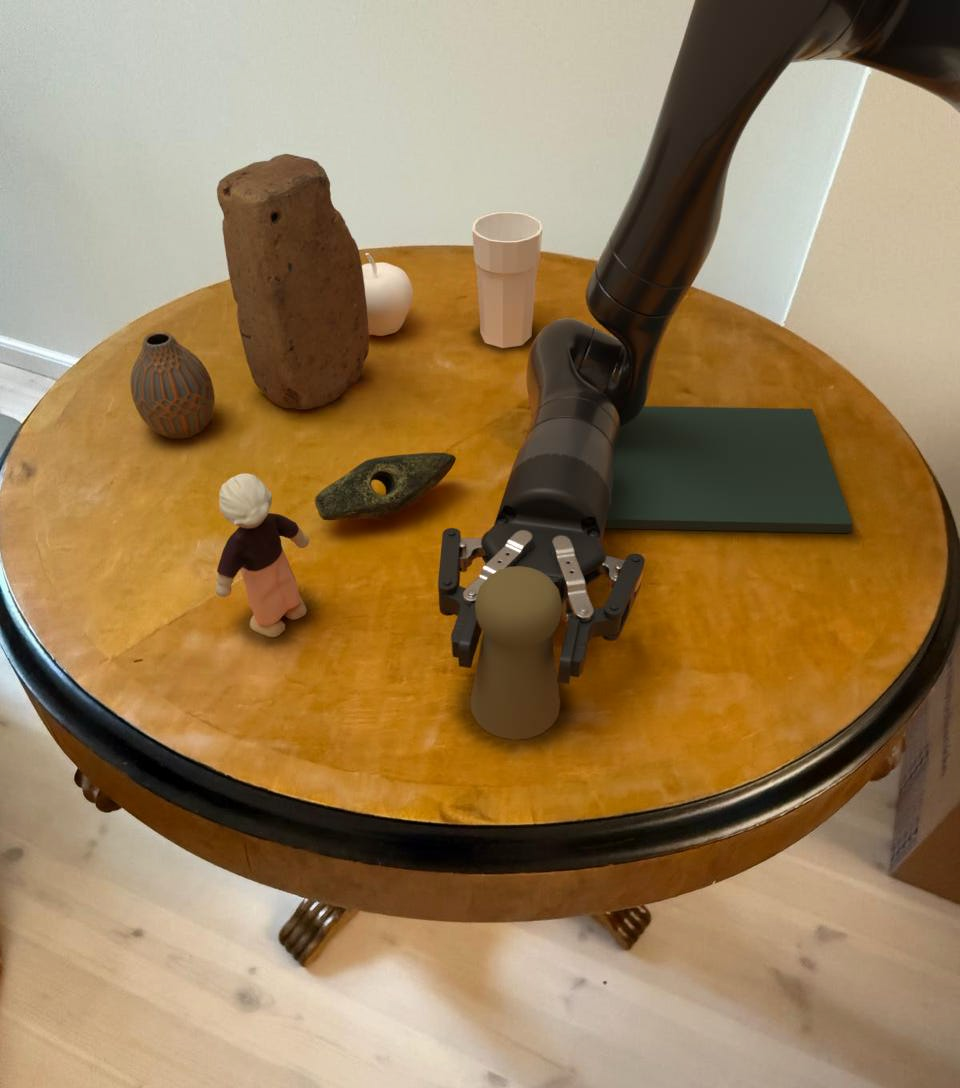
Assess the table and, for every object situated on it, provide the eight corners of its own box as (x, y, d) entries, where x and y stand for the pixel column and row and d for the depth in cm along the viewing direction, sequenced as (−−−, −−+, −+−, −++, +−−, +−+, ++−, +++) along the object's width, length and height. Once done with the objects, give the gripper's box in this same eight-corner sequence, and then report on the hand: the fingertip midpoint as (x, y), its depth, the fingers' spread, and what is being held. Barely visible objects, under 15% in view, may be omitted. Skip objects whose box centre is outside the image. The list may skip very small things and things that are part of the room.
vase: (210, 397, 88) (187, 310, 81) (230, 436, 83) (209, 347, 77) (136, 416, 85) (107, 329, 79) (154, 457, 81) (124, 368, 75)
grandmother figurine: (285, 579, 71) (254, 440, 61) (326, 596, 69) (301, 457, 60) (219, 644, 66) (174, 505, 57) (261, 664, 65) (222, 525, 55)
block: (290, 425, 84) (249, 199, 70) (245, 391, 88) (197, 171, 73) (384, 380, 89) (363, 161, 75) (337, 350, 93) (309, 136, 78)
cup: (460, 331, 95) (457, 224, 87) (511, 312, 98) (513, 206, 90) (499, 358, 92) (500, 249, 84) (551, 337, 94) (557, 229, 86)
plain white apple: (335, 321, 97) (325, 245, 91) (397, 305, 99) (391, 230, 93) (362, 352, 93) (353, 275, 87) (426, 334, 95) (421, 258, 89)
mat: (809, 417, 84) (812, 408, 84) (849, 533, 74) (853, 523, 73) (589, 414, 85) (590, 404, 84) (597, 528, 74) (598, 518, 74)
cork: (467, 738, 60) (464, 621, 52) (472, 668, 64) (470, 549, 56) (560, 741, 60) (571, 624, 52) (559, 670, 64) (570, 552, 56)
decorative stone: (391, 563, 72) (386, 513, 68) (311, 532, 74) (302, 482, 71) (462, 485, 78) (460, 435, 75) (386, 459, 81) (381, 409, 77)
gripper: (460, 438, 65) (394, 605, 54) (665, 464, 63) (640, 643, 52) (462, 520, 71) (403, 687, 60) (651, 546, 69) (626, 724, 58)
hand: (514, 665), depth 56 cm, fingers open, 5 cm apart
